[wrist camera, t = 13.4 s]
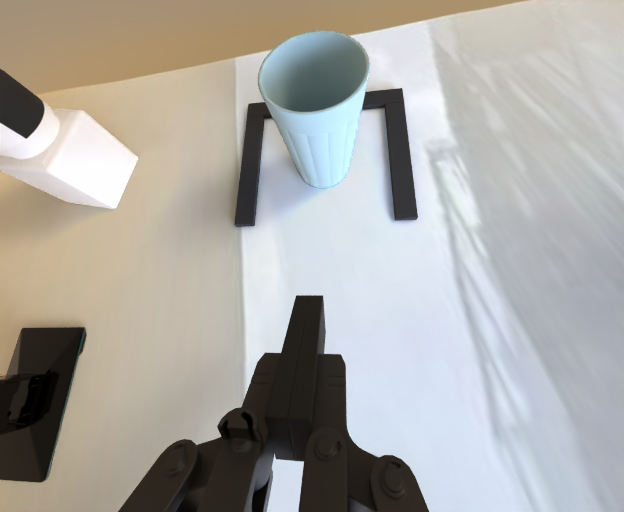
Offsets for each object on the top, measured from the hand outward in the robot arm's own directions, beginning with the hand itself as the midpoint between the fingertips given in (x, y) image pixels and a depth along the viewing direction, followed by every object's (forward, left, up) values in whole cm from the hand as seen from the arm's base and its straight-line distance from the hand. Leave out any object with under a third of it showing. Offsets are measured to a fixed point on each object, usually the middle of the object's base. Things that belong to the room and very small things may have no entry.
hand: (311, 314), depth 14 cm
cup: (-8, -14, -8) cm, 18 cm away
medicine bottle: (+15, -27, -8) cm, 32 cm away
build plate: (+27, -7, -8) cm, 29 cm away
